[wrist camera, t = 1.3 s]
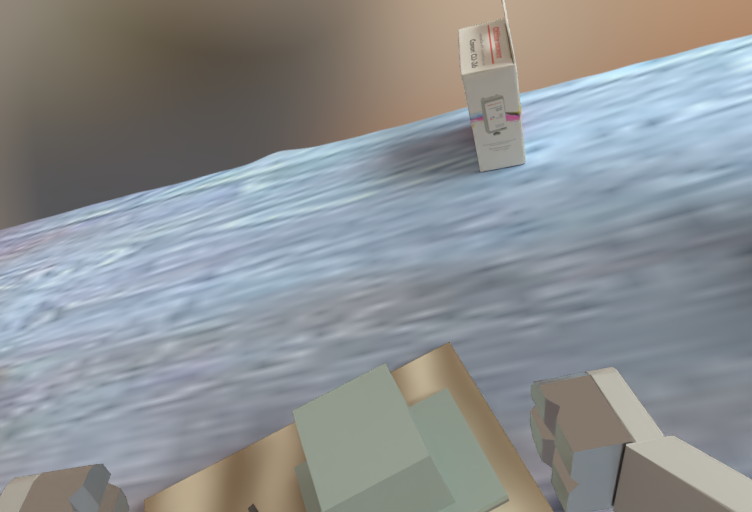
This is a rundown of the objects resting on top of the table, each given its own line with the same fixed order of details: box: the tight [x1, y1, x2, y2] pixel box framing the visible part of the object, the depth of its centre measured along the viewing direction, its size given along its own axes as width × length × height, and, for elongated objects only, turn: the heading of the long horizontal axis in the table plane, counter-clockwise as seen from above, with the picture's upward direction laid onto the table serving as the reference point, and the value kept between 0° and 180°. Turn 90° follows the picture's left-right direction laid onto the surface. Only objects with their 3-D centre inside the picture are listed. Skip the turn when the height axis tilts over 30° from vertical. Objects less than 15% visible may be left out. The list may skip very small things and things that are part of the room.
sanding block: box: [292, 363, 509, 512], centre depth 31 cm, size 12×8×9 cm, turn 112°
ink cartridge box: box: [458, 0, 526, 172], centre depth 51 cm, size 9×5×15 cm, turn 176°
